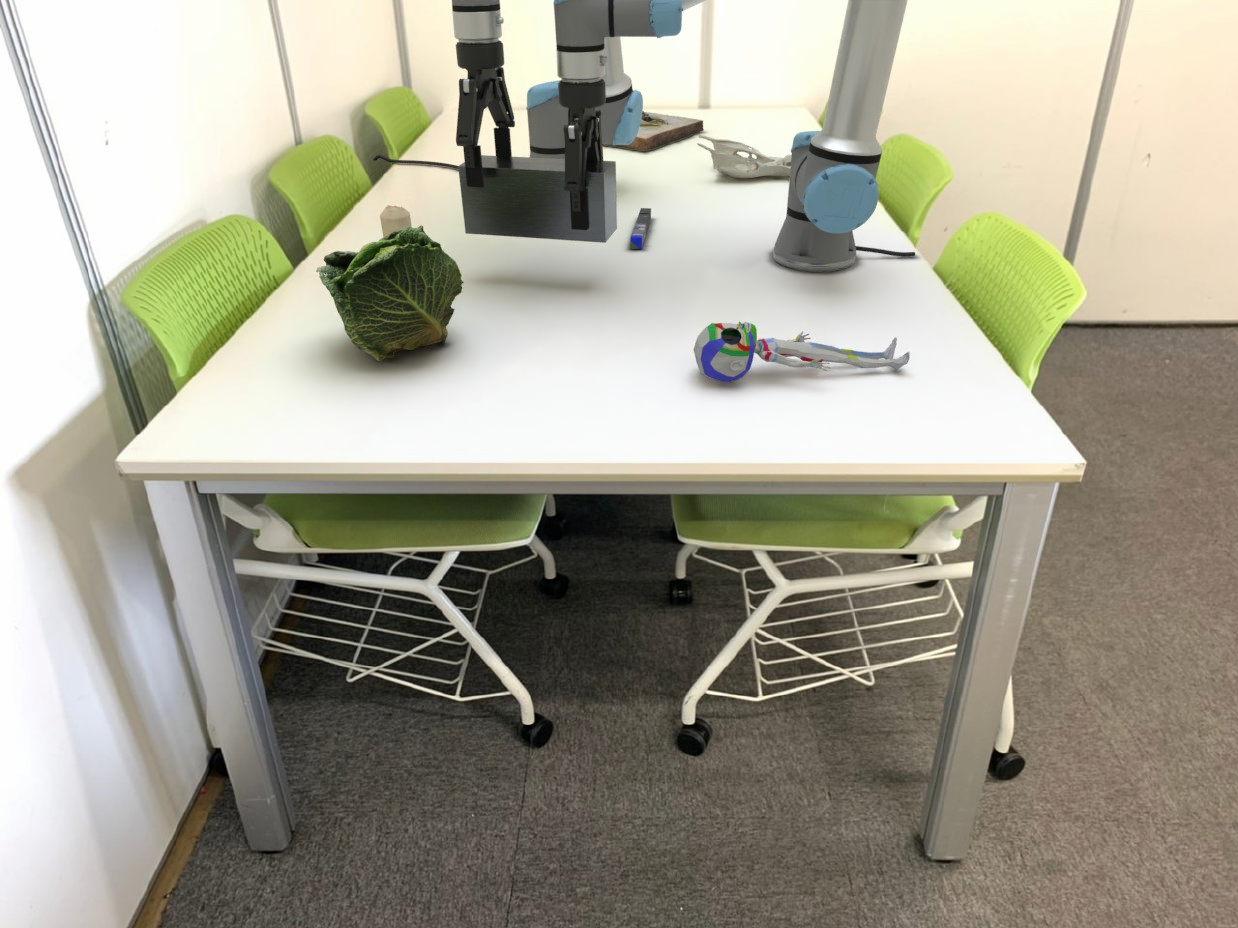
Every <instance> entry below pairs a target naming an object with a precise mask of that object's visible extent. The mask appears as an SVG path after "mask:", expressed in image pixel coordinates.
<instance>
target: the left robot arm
mask: <svg viewBox="0 0 1238 928" xmlns="http://www.w3.org/2000/svg"><path fill="white" fill-rule="evenodd" d="M451 10H452V11H451V13H452V24H453V37H454V38H455V39H456V40H458V41H457V42H456V44H455V52H456V63H457V67H459V68H460V69H462V70H466V72H467V78H459V80H458V93H459V95H458V109H457V111H458V112H457V120H456V121H457V122H456V131H455V132H456V134H455V143H456V146H457V147H462V148H463V149H462V150H463V158H464V162H465V170H466V180H467V187H484V179H483V168H482V157H481V155H482V147H481V145H479V139H480V134H481V128H482V122H483V117H484V112H485V110H486V109H488V111H489V113H490V116H491V118H492V120H493V123H494V125H495V126H496V127H494V128H493V139H494V150H495V156H509V157H513V154H512V139H511V129H510V128H515V127H516V121H515V116H514V115H515V114H514V111H513V107H512V103H511V99H510V96H509V91H508V87H507V83H506V77H505V70H504V67H503V66H504V65H505V53H504V52H505V51H504V43H503V42H502V40H500V39H501V37H502V36H503V29H502V28H503V27H502V25H503V24H504V22H505V20H504V17H502V16H501V13H502V12H501V0H451ZM621 39H622V37H605V38H604V47H605V48H604V56H606V57H607V58H608V62H607V63H605V75H604V76H603V77H601V79H603V80H604V81H605V86H606V102H605V104H604V105H603V106H600V107H597V108H595V110H601V131H602V144H609V145H613V146H615V145H628V144H631V143H632V142H633V141H634V139H635V138H636V136H637V133H638V131H639V127H640V123H641V118H642V111H644V110H643V109H644V97H643V94H642V91H640V90H638V89H633V82H632V78H631V76H629V75H628V74H626V73H625V70H624V60H623V59H624V58H623V51H622V41H621ZM560 80H561V79H559V80H553V81H546V82H543V83H538V84H535V85H532V86H531V87H530V88H529V89H528V90H527V93H526V109H525V110H526V113H527V114H526V115H527V127H528V140H529V141H528V142H529V157H531V158H552V159H565V137H564V125H568V121H569V119H570V113H571V111H570V109H569V108H565V107H563V106H561V105H560V104H559V91H558V83H559V81H560ZM379 159H381V160H384V161H386V162H388V163H393V164H407V165H409V164H413V165H429V166H437V167H438V166H439V167H444V168H451V169H456V170H459V169H458V166H459V165H457V164H456V165H455V164H452V163H446V162H438V161H431V160H430V161H429V160H412V159H408V160H407V159H392V158H390V157H387V156H386V155H385V156H384V155H382V154H377V155H376V156H374V157H373V159H372V161H374V162H376V161H377V160H379Z"/></svg>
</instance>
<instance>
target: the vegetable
mask: <svg viewBox="0 0 1238 928" xmlns="http://www.w3.org/2000/svg"><path fill="white" fill-rule="evenodd" d="M323 261H324V262H325V265H322V266H318V267H316V270H315V271H316V273H319V276H318V278H319V279H320V281H321V283H322V285H323V286H325V288H326V290H327V291H328V292H329V294H330V296H331V298H332V299H333V302H334V306H335V309H336V311H337V312H338V315H339V317H340V318H341V321H342V324H343V328H344V331H345V333H346V335H347V336H348V338H349V339H350V342H351V343H352V344H353V345H354V346H355V347H357V348H358V349H359V350H360V351H362V352H364V353H366V354H369V355H370V356H371V357H372V358H374V359H375V360H376V361H377V362H382V361H383V360H384V359H387V358H388V359H389V358H391V359H396V355H395V353H396V352H401V351H403V350H409V351H414V350H415V349H417V348H419V347H426V346H429V345H436V346H438V345H439V346H440V345H445V343H446V340H447V338H448V335H449V332H448V329H447V327H448V325H449V323H450V321H451V319H452V317H453V316H454V313H455V310H456V309H455V308H453V307H452V304H453V302H454V301H455V299H456V298H457V296H459V295H460V294H461V293H462V292H463V285H464V283H465V281H463V280H462V273H461V270H460V268H459V266H458V264H457V262H456V261H455V260H454V258H453V257H451V256H450V255H449V254H448V253H447V252H445V251H444V250H443V248H442V246H441V243H439V242H437V241H434V240H433V239H432V238H431V237H430V236H429V234H427V233H426V231H425V230H424V225H421V224H420V225H418V226H417V227H413V226H412V225H411V226H410V227H407V228H405V229H404V230H400V231H395V232H393V233H391V234H389V235H387V236H385V237H383V236H382V238H379V240H378V241H371V242H368V243H366V244H364V245H363V246H361V248H360V250H359V251H350V250H345V251H341V250H335V251H333V252H331V253H329V254H327V255H324V257H323Z"/></svg>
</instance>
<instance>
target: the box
mask: <svg viewBox="0 0 1238 928" xmlns="http://www.w3.org/2000/svg"><path fill="white" fill-rule="evenodd" d="M481 157H482V168H483V179H484V187H467V180H466V170H465V161H463V162H462V163H460V164H459V165H457V166H458V169H457V170H458V177H459V187H460V194H461V205H462V214H463V221H464V222H463V223H464V232H465V234H468V235H483V236H497V237H499V236H500V237H512V238H513V237H514V238H528V239H544V240H557V241H572V242H587V243H588V242H589V243H603V244H606V243H607V242H608V241H609V239H610V238H611V237H612V235H613V234H614V233H615V232H616V230H618V212H617V211H618V210H617V209H618V208H617V204H618V203H617V162H616V161H617V160H616V161H615V160H604V161H589V160H587V161H586V172H585V189H584V190H587V212H588V230H575V229H571V209H570V191H565V190H564V186H565V159H552V158H531V157H530V156H528V157H527V156H512V157H509V156H496V155H485V154H481ZM574 183H576V182H574Z"/></svg>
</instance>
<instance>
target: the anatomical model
mask: <svg viewBox="0 0 1238 928" xmlns="http://www.w3.org/2000/svg"><path fill="white" fill-rule="evenodd" d="M698 138H699V139H704V140H707V141H709V142H711V143H712V145H713V146H712V147H713V149H712V148H710V147H708V146H706V145H705V144H702V143H700V142H697V143H696V144H697V146H698V147H700V148H702V149H704V150H706V151H709V152H710V154H711V155H710V156H711V159H712V169H713V170H717V171H718V173H719V174H721V175H726V176H727V175H728V176H729V177H731V178H734V179H754V178H758V177H765V176H780V177H781V176H782V177H790V169H791V157H792V154H787V155H786V156H784V157H779V156H778V157H777V156H768V155H765V154H762V153H761V151H760V150H758V149H757V148H756V147H754V146H751V145H748V144H745V143H743V142H740V141H735V140H731V139H722V138H714V137H711V136H706V135H702V134H699V135H698ZM739 153H745V154H748V156H747V157H745V156H742V155H740V154H739ZM753 155H754V156H755V157H756V158H754V157H753Z"/></svg>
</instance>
